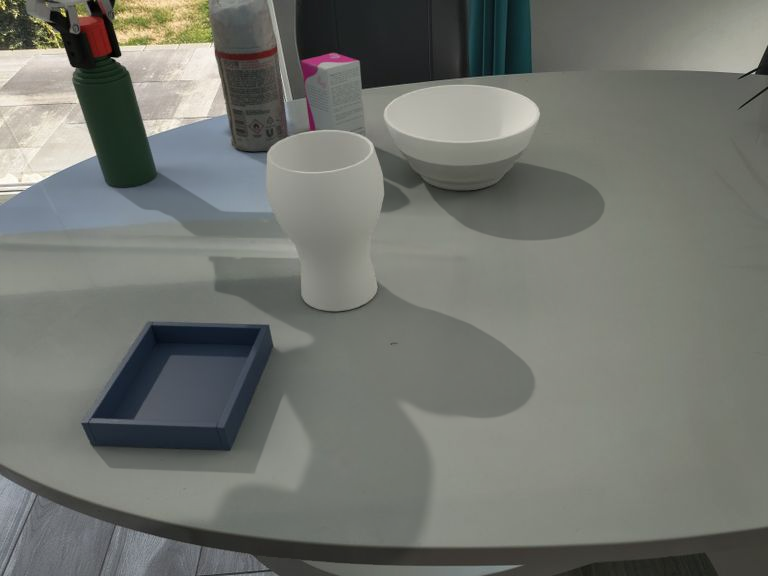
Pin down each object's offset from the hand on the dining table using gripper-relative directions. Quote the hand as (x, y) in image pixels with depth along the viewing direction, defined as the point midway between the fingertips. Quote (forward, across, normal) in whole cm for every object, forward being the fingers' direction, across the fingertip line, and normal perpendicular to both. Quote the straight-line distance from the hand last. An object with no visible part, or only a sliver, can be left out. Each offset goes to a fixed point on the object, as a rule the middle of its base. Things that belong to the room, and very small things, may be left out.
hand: (96, 60), depth 86 cm
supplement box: (+15, +18, -21) cm, 32 cm away
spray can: (+15, +15, -10) cm, 24 cm away
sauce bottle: (+15, 0, 0) cm, 15 cm away
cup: (+15, -16, -37) cm, 43 cm away
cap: (-1, 0, 0) cm, 1 cm away
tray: (+15, -34, -32) cm, 49 cm away
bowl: (+15, +14, -41) cm, 46 cm away
